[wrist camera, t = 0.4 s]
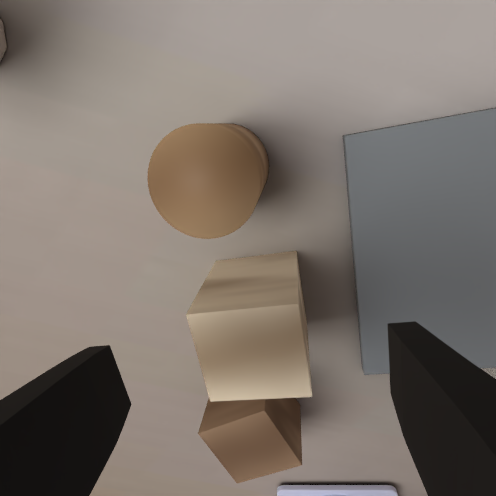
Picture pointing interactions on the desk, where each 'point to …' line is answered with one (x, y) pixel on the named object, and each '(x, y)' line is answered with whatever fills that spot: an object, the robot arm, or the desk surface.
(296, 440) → the walnut cube
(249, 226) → the desk surface
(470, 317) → the mat
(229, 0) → the desk surface
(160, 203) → the oak cylinder
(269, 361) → the maple block
